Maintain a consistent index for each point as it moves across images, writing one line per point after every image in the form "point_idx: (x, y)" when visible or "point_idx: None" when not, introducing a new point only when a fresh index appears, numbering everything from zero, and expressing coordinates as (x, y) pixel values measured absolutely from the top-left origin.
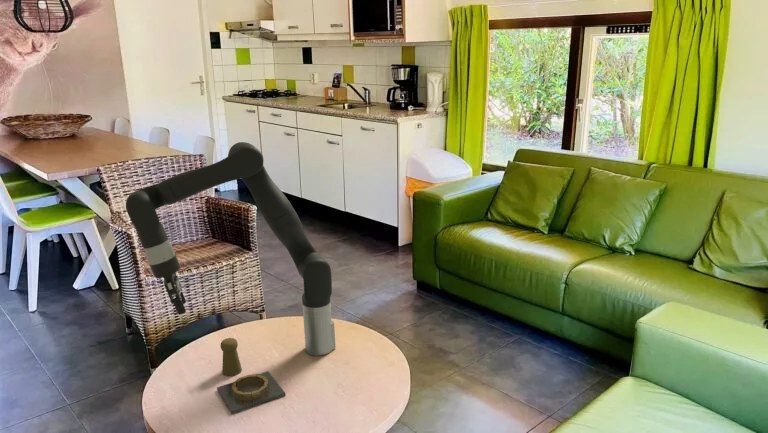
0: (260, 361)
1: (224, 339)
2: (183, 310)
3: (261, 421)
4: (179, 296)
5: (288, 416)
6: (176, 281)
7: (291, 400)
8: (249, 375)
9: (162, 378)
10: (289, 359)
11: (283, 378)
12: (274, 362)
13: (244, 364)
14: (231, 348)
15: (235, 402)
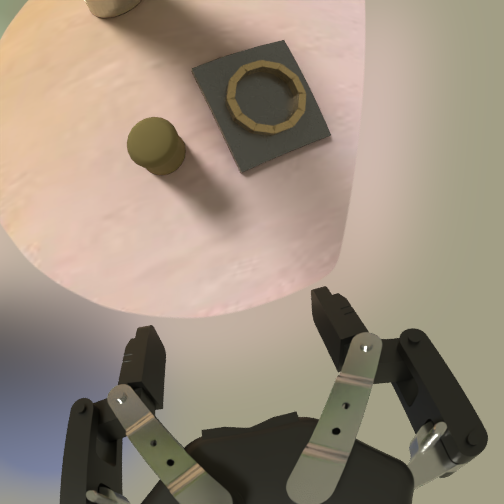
0: (131, 95)
1: (140, 155)
2: (343, 297)
3: (351, 88)
4: (409, 352)
5: (342, 48)
6: (342, 475)
7: (298, 36)
8: (229, 97)
9: (175, 305)
10: (139, 39)
11: (216, 43)
12: (143, 65)
13: None
14: (176, 131)
15: (304, 128)
